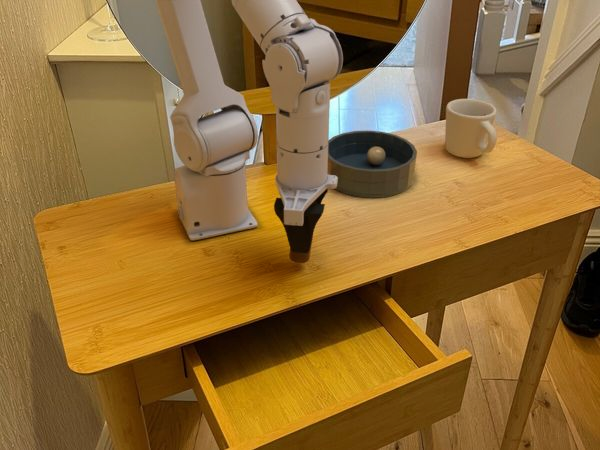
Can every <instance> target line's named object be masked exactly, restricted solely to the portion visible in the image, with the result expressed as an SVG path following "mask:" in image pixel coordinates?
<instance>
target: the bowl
mask: <svg viewBox="0 0 600 450" xmlns="http://www.w3.org/2000/svg"><path fill="white" fill-rule="evenodd" d="M376 146H377V147H381V148H382V149H383V150H384V151H385V154H386V158H385V160H384V162H383V163H382V164H380V165H372V164H371V163H369V161H368V160H367V152H368V151H369V149H370V148H372V147H376ZM417 157H418V150H417V149H416V147H415V144H413V143H412V142H410V141H409V140H408V139H407V138H404V137H401V136H399V135H397V134H394V133H390V132H386V131H380V130H379V131H378V130H353V131H348V132H342V133H339V134H337V135H334V136H332V137H331V138H329V139H328V171H327V174H328V175H335V176H337V177H338V182H337V187H336V188H334V189H333V190H336V191H338V192H340V193H342V194H345V195H349V196H352V197H358V198H367V199H380V198H388V197H392V196H397V195H399V194H401V193H403V192H405V191H407V190H408V189H409V188H410V187H412V185H413V183H414V182H415V181H414V180H415V175H416V167H417V166H416V165H417Z"/></svg>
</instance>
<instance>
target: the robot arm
mask: <svg viewBox="0 0 600 450" xmlns="http://www.w3.org/2000/svg"><path fill="white" fill-rule="evenodd" d="M154 1H155V2H154V3H155V5H156V8H157V12H158V14H159V18H160V21H161V25H162V28H163V31H164V34H165V37H166V40H167V44H168V47H169V51H170V53H171V57H172V61H173V63H174V67H175V71H176V73H177V76H178V77H177V78H178V80H179V83H180V86H181V90H182V93H183V96H182V97H181V99H180V100H179V101H178V103H177V104H176V106H175V107H174V109H173V110H172V112H171V114H170V116H169V118H170V122H171V126H172V130H173V147H174V150H175V153H176V155H177V157H178V159H179V160H180V162H181V163H182V166H179V167H176V168H174V171H173V177H174V179H173V180H174V188H175V194H176V204H177V215H178V217H179V220H180V221H181V224H182V226H183V228H184V230H185V232H186V234H187V237H188V238H189V240H190V241H197V240H202V239H207V238H208V239H209V238H213V237H217V236H221V235H225V234H231V233H235V232H240V231H245V230H250V229H254V228H257V227H258V225H259V223H258V221H257V219H256V218H255V217H254V215H253V213H252V212H251V210H250V209H249V206H248V187H247V186H248V185H247V166H246V162H247V161H248V160H249V159H251V153H250V152H251V151H252V150H253V149H255V148H256V146H257V144H258V139H259V131H258V125H257V123H256V120H255V117H254V116H253V115H252V114H251V112H250V110H249V109H248V106H247V103H246V100H245V97H244V95H243V94H241V93H240V92H239V91H236V90H235V89H232V88H231V87H229V86H227V85H226V84H225V82H224V78H223V75H222V72H221V67H220V64H219V61H218V57H217V54H216V51H215V47H214V44H213V40H212V37H211V33H210V30H209V25H208V22H207V19H206V15H205V11H204V9H203V5H202V1H201V0H154ZM231 5H232V7H233V8H234V10H235V11H236V12H237V13H236V14H237V15H238V16H239V17H240V19H241V20H242V22H243V23H244V25H245V27H246V29H248V31H249V33H250V34H251V36H252V37H253V38H254V40H255V41H256V43H257V44H258V46H259V47H260V49H261V51H262V52H263V53H264V55H265V56H264V57H265V58H264V59H262V60H261V62H262V63H261V64H262V69H263V73H264V77H265V78H266V81H267V83H268V85H269V88H270V99H271V101H272V104H273V106H274V107H275V123H276V124H275V125H276V175H275V186H276V189H277V192H278V195H279V196H280V197H276V198H275V201H274V204H273V209H274V210H273V211H274V213H275V215H276V217H278V219H279V221H280V222H281V224H282V226H283V228H284V231H285V234H286V238H287V242H288V244H289V245H288V246H289V250H290V249H291V251H292V252H296V253H308V252H309V250H310V247H311V248H312V246H311V242H312V243H313V239H312V237H314V232H315V228H316V226H317V224H318V222H319V220H320V219H321V217H322V215H323V213H324V210H325V206H326V204H325V203H322V202H323V200H324V198H325V197H326V195H327V194H328V191H329V190H332V189H333V190H335V189H334V188H336V187H337V182H338V177H337V176H335V175H328V174H327V171H328V140H330V138H329V137H330V133H329V132H330V103H331V101H330V100H331V81H333V80H335V79H336V78H337V77H338V76H339V75H340V73H341V70H342V69H343V63H344V54H343V49H342V46H341V44H340V41H339V39H338V38H337V35H336V33H335V32H334V30H333V29H332V28H330V27H328V26H327V25H323V24H320V23H318V22H317V20H315V18H311V17H310V18H309V17H308V15H307V14H306V13H305V11H304V9H303V8H302V6H301V5H300V3H298V0H231ZM218 110H219V111H218ZM215 111H216V112H215ZM213 112H214V113H213ZM209 113H211V114H209ZM205 114H207V115H205ZM314 201H316V202H317V203H313V202H314Z"/></svg>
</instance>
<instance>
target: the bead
mask: <svg viewBox="0 0 600 450" xmlns="http://www.w3.org/2000/svg"><path fill="white" fill-rule="evenodd" d="M385 158H386V154H385V151H384V150H383V149H382V148H381V147H377V146H376V147H372V148H370V149H369V151H368V152H367V160H368V161H369V163H371V164H372V165H380V164H382V163H383V162H384V160H385Z"/></svg>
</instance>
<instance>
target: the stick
mask: <svg viewBox="0 0 600 450" xmlns="http://www.w3.org/2000/svg"><path fill="white" fill-rule="evenodd" d="M313 203H317V202H316V201H314V202H313ZM313 237H314V236H313ZM313 237H312V240H313V239H314V238H313ZM312 245H313V241H312V242H311V247H310V250H309V252H308V253H296V252H292V251H291V249H290V248H289V252H288V257H289V260H290V261H291V262H293V263H295V264H306V263H308V262H309V261H310V259H311V253H312Z"/></svg>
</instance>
